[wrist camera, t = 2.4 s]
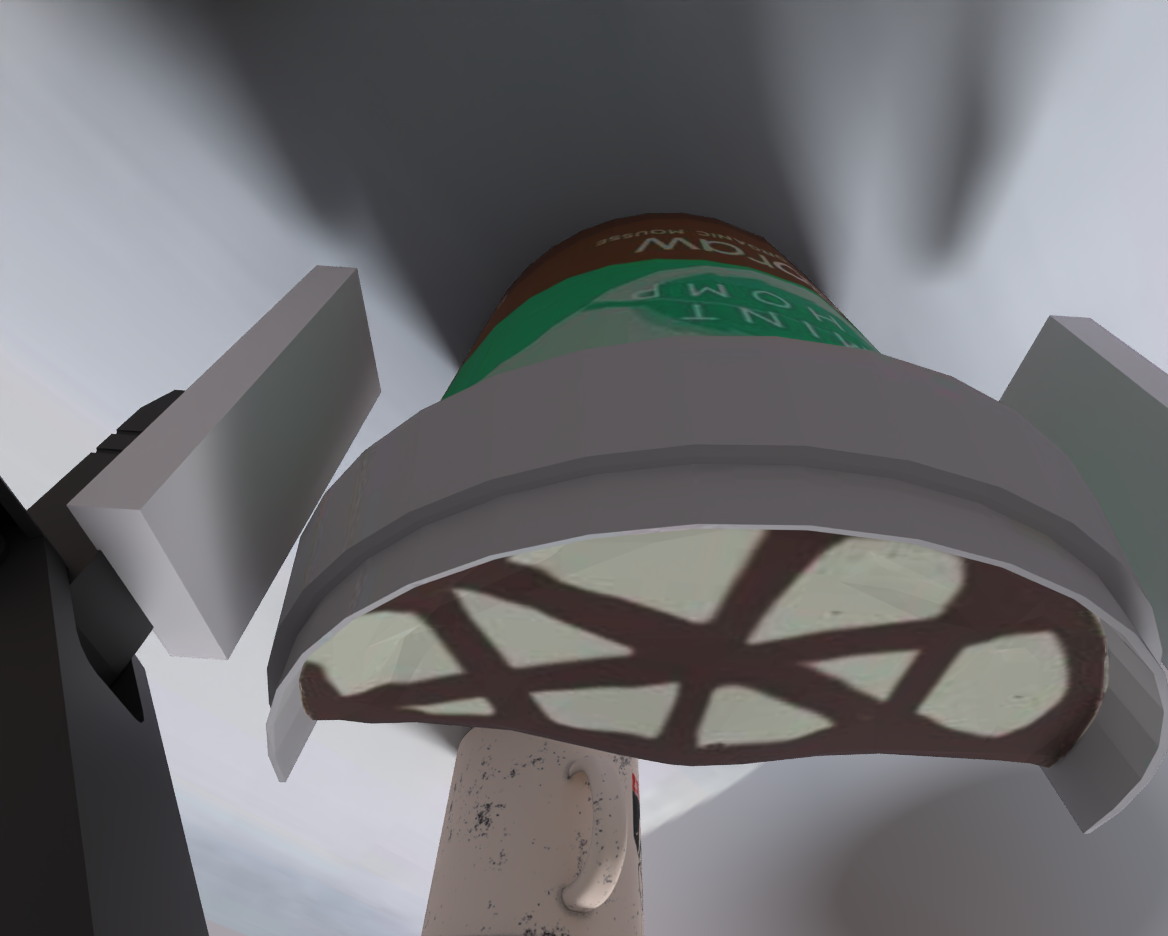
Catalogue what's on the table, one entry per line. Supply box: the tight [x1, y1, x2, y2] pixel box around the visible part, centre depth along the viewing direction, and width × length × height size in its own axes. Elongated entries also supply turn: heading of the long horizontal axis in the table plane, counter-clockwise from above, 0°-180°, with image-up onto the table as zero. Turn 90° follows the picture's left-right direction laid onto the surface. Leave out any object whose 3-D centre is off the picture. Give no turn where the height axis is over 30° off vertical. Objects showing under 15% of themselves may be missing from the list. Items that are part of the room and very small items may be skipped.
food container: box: [266, 213, 1168, 834], centre depth 10 cm, size 12×6×10 cm, turn 86°
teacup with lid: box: [421, 727, 644, 936], centre depth 24 cm, size 12×9×12 cm
